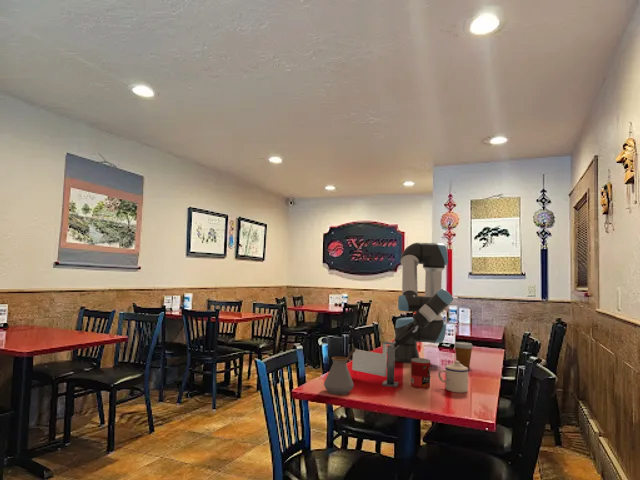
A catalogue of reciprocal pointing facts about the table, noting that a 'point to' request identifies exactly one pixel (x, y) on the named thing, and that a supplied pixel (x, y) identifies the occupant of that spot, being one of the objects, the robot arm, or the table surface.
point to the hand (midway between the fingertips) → (386, 353)
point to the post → (390, 368)
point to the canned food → (420, 373)
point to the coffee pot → (339, 376)
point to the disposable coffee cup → (463, 353)
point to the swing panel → (371, 361)
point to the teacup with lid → (456, 377)
